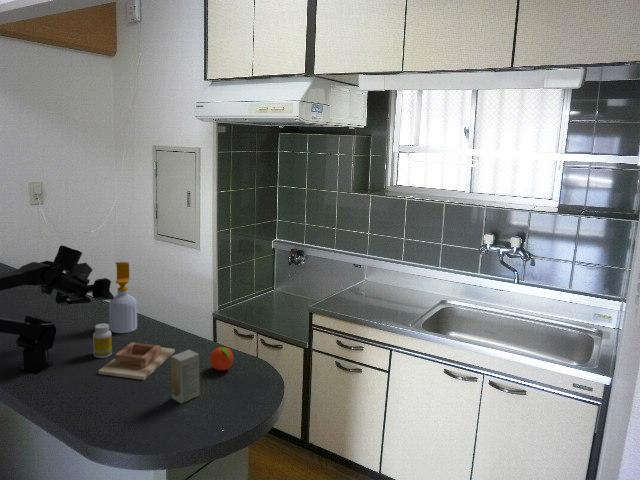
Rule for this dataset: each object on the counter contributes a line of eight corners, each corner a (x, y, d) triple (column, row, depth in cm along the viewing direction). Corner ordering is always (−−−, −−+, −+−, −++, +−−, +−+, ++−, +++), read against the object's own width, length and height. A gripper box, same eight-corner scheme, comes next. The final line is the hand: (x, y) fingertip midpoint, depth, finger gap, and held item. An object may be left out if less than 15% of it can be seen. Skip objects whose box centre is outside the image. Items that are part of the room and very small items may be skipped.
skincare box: (190, 390, 144) (190, 348, 141) (200, 395, 141) (200, 353, 139) (170, 398, 139) (170, 355, 137) (180, 404, 136) (180, 360, 134)
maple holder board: (143, 379, 148) (143, 366, 147) (98, 373, 150) (98, 360, 149) (174, 351, 168) (174, 340, 167) (133, 346, 170) (133, 335, 169)
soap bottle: (108, 334, 178) (106, 264, 173) (111, 324, 187) (109, 258, 182) (136, 333, 181) (135, 264, 176) (137, 323, 189) (136, 257, 184)
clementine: (239, 371, 156) (240, 349, 155) (220, 378, 152) (220, 355, 150) (225, 362, 162) (225, 340, 161) (205, 368, 157) (205, 346, 156)
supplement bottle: (91, 353, 163) (90, 324, 161) (108, 349, 167) (108, 321, 165) (96, 359, 159) (95, 330, 157) (114, 355, 162) (113, 326, 161)
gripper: (95, 255, 158) (128, 272, 171) (46, 263, 164) (83, 280, 177) (88, 290, 153) (123, 305, 167) (39, 297, 159) (76, 311, 172)
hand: (101, 299), depth 171 cm, fingers open, 9 cm apart
